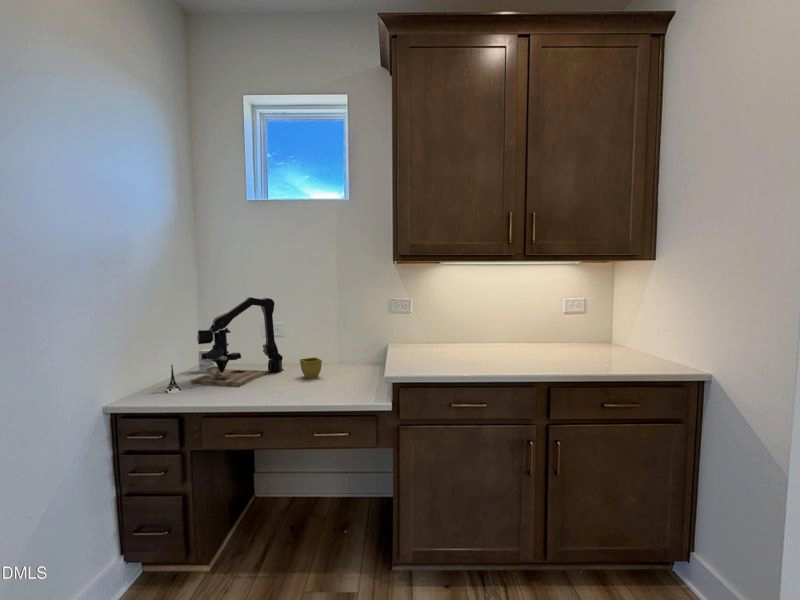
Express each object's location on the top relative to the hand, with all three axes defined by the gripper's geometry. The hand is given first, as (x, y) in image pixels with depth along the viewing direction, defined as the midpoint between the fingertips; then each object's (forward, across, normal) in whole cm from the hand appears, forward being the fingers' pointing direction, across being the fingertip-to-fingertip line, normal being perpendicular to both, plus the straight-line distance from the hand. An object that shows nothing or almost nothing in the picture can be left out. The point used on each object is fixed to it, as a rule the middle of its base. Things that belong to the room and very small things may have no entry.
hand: (221, 372), depth 209 cm
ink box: (+3, -17, +13) cm, 22 cm away
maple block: (+1, -4, 0) cm, 4 cm away
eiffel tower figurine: (+4, -11, -22) cm, 25 cm away
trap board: (+3, +4, 0) cm, 5 cm away
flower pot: (+4, +43, +11) cm, 45 cm away
